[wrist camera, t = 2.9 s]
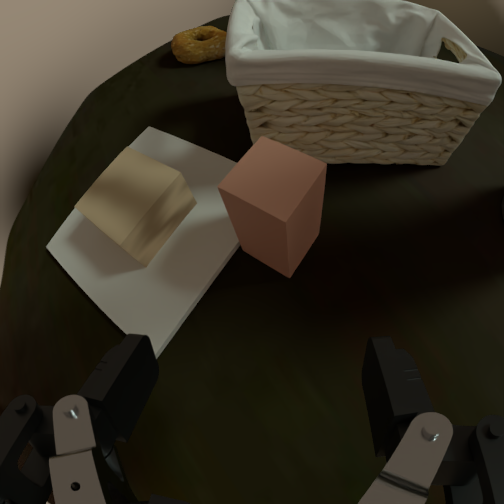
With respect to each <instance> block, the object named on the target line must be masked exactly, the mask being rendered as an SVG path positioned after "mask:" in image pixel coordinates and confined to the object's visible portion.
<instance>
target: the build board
mask: <svg viewBox="0 0 504 504" xmlns="http://www.w3.org/2000/svg"><path fill="white" fill-rule="evenodd" d="M129 147H130V148H132V149H134V150H136V151H138V152H140V153H142V154H144V155H146V156H148V157H150V158H152V159H155V160H157V161H159V162H161V163H163V164H165V165H167V166H169V167H171V168H173V169H175V170H177V171H179V172H181V174H182V176H183V177H184V179H185V181H186V183H187V185H188V187H189V189H190V191H191V193H192V194H193V196H194V198H195V200H196V202H197V204H196V205H195V206H194V208H193V209H192V210H191V211H190V212H189V214H188V215H187V216H186V217H185V219H184V220H183V221H182V222H181V223H180V225H179V226H178V227H177V228H176V230H175V231H174V232H173V233H172V235H171V236H170V237H169V239H168V240H167V241H166V242H165V244H164V245H163V246H162V247H161V249H160V250H159V251H158V253H157V254H156V255H155V257H154V258H153V259H152V260H151V262H150V263H149V264H148V266H147V267H144V266H143V265H142V264H141V263H139V262H138V261H137V260H136V259H134V258H133V257H132V256H131V255H129V254H128V253H127V252H126V251H125V250H123V249H122V248H121V247H120V246H119V245H117V244H116V243H115V242H114V241H113V240H111V239H110V238H109V237H108V236H107V235H105V234H104V233H103V232H102V231H101V230H100V229H98V228H97V227H96V226H95V225H94V224H93V223H92V222H91V221H89V220H88V219H87V218H86V217H85V216H84V215H83V214H82V213H81V212H80V211H78V210H77V209H76V208H75V209H74V210H73V211H72V213H71V214H70V215H69V216H68V218H67V219H66V220H65V222H64V223H63V224H62V226H61V227H60V228H59V230H58V231H57V233H56V234H55V235H54V237H53V238H52V239H51V241H50V242H49V244H48V245H47V249H48V250H49V251H50V252H51V254H52V255H53V256H54V257H55V258H56V260H57V261H58V262H59V263H60V264H61V266H62V267H63V268H64V269H65V270H66V271H67V273H68V274H69V275H70V276H71V277H72V278H73V279H74V281H75V282H76V283H77V284H78V285H79V286H80V287H81V288H82V290H83V291H84V292H85V293H86V294H87V295H88V296H89V297H90V298H91V299H92V300H93V301H94V302H95V303H96V304H97V306H98V307H99V308H100V309H101V310H102V311H103V312H104V313H105V314H106V315H107V316H108V317H109V318H110V319H111V320H112V321H113V322H114V323H115V324H116V325H117V326H118V327H119V328H120V329H121V330H122V331H124V332H125V333H126V334H129V333H131V334H141V335H147V336H149V338H150V340H151V344H152V347H153V350H154V353H155V356H156V359H157V358H158V357H159V355H160V354H161V352H162V351H163V350H164V348H165V347H166V346H167V344H168V343H169V341H170V340H171V339H172V337H173V336H174V334H175V333H176V332H177V330H178V329H179V328H180V326H181V325H182V323H183V322H184V321H185V319H186V318H187V317H188V315H189V314H190V312H191V311H192V310H193V308H194V307H195V306H196V304H197V303H198V302H199V300H200V299H201V297H202V296H203V295H204V293H205V292H206V291H207V289H208V288H209V287H210V285H211V284H212V282H213V281H214V280H215V278H216V277H217V276H218V274H219V273H220V272H221V270H222V269H223V268H224V266H225V265H226V263H227V262H228V261H229V259H230V258H231V257H232V255H233V254H234V253H235V251H236V250H237V249H238V247H239V246H240V242H239V240H238V237H237V235H236V232H235V230H234V227H233V225H232V222H231V220H230V218H229V215H228V213H227V210H226V208H225V205H224V203H223V200H222V198H221V195H220V193H219V190H218V188H217V186H218V185H219V184H220V183H221V181H222V180H223V179H224V178H225V177H226V176H227V174H228V173H229V172H230V171H231V170H232V169H233V168H234V166H235V165H236V164H237V163H236V162H234V161H232V160H230V159H227V158H225V157H223V156H221V155H218V154H216V153H214V152H211V151H209V150H207V149H204V148H202V147H199V146H197V145H195V144H192V143H190V142H187V141H185V140H182V139H180V138H178V137H175V136H173V135H170V134H167V133H165V132H162V131H160V130H157V129H155V128H152V127H148V128H147V129H146V130H145V131H144V132H143V133H142V134H141V135H140V136H139V137H138V138H137V139H136V140H135V141H134V142H133V143H132V144H131V145H130V146H129Z"/></svg>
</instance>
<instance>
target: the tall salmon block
mask: <svg viewBox="0 0 504 504" xmlns="http://www.w3.org/2000/svg"><path fill="white" fill-rule="evenodd" d="M326 169H327V163H324V162H322V161H320V160H318V159H316V158H313V157H311V156H309V155H307V154H304V153H302V152H300V151H298V150H295V149H293V148H291V147H288V146H286V145H283V144H281V143H279V142H276V141H274V140H271V139H269V138H266V137H264V136H261V137H260V138H259V139H258V141H257V142H256V143H255V144H254V145H253V146H252V147H251V148H250V149H249V151H248V152H247V153H246V154H245V155H244V156H243V157H242V158H241V160H240V161H239V162H238V163H237V164H236V165H235V166H234V168H233V169H232V170H231V171H230V172H229V173H228V174H227V176H226V177H225V178H224V179H223V180H222V181H221V183H220V184H219V185H218V186H217V188H218V190H219V193H220V195H221V198H222V200H223V203H224V205H225V208H226V210H227V213H228V215H229V218H230V220H231V222H232V225H233V227H234V230H235V232H236V235H237V237H238V240H239V242H240V245H241V247H242V250H243V251H245V252H246V253H248V254H250V255H251V256H253V257H255V258H256V259H258V260H260V261H261V262H263V263H265V264H266V265H268V266H270V267H271V268H273V269H275V270H276V271H278V272H280V273H281V274H283V275H285V276H286V277H288V278H290V277H291V276H292V274H293V273H294V271H295V270H296V268H297V267H298V265H299V264H300V262H301V261H302V259H303V258H304V256H305V255H306V253H307V252H308V250H309V248H310V247H311V245H312V244H313V242H314V241H315V239H316V238H317V236H318V235H319V229H320V222H321V214H322V205H323V197H324V188H325V179H326Z"/></svg>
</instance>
